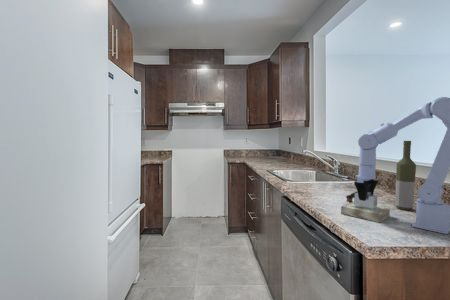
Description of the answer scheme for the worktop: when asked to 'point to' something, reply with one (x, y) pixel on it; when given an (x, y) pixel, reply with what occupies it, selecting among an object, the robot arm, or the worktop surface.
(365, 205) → the block
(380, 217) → the stand
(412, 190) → the bottle
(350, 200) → the broken clay pot shard
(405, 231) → the worktop surface
